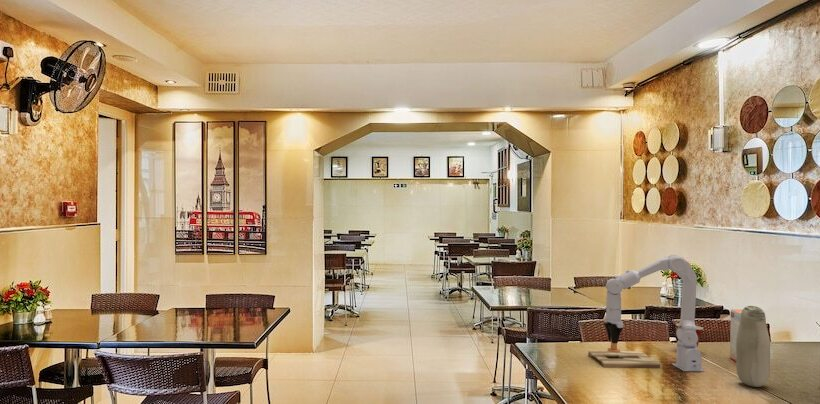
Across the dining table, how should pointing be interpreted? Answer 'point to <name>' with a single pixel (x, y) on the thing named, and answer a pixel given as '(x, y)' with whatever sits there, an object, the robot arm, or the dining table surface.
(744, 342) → the grey bottle
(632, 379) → the dining table surface
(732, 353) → the cracker box
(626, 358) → the keyhole board
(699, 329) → the plastic cup
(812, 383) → the dining table surface
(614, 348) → the keyhole peg
